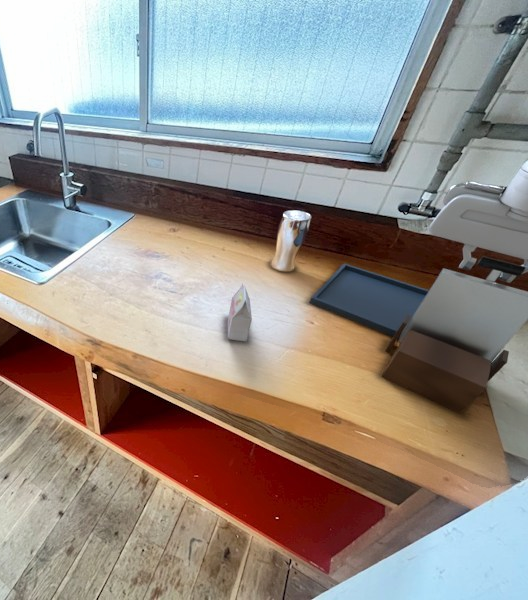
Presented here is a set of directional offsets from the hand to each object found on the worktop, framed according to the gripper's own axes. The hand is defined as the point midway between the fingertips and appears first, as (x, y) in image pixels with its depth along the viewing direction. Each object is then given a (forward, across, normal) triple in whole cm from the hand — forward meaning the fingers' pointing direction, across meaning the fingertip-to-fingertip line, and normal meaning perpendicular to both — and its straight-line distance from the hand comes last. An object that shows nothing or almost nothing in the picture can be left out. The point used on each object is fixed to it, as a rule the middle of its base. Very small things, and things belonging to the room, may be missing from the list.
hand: (483, 273), depth 55 cm
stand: (+16, +2, -12) cm, 20 cm away
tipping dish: (+5, +1, -6) cm, 8 cm away
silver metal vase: (+18, -34, +8) cm, 40 cm away
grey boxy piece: (+17, -30, -24) cm, 42 cm away
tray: (+17, -8, +7) cm, 20 cm away
